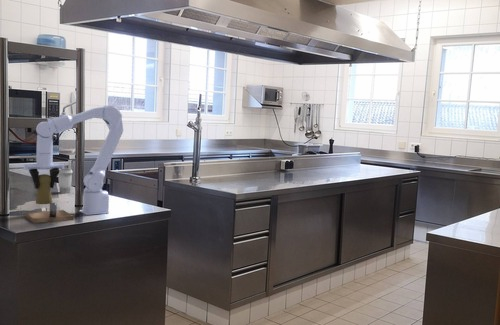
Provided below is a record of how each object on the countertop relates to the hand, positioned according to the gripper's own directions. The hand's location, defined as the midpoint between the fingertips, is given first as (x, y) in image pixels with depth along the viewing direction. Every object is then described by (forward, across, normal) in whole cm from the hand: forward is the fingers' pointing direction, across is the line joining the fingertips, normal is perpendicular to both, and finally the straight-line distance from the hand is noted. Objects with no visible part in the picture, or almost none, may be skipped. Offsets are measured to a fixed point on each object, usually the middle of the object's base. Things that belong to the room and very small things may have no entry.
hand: (44, 188), depth 189 cm
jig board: (+10, 0, +7) cm, 13 cm away
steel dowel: (+9, 0, +12) cm, 15 cm away
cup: (+11, -21, -43) cm, 49 cm away
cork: (+6, 0, -1) cm, 6 cm away
